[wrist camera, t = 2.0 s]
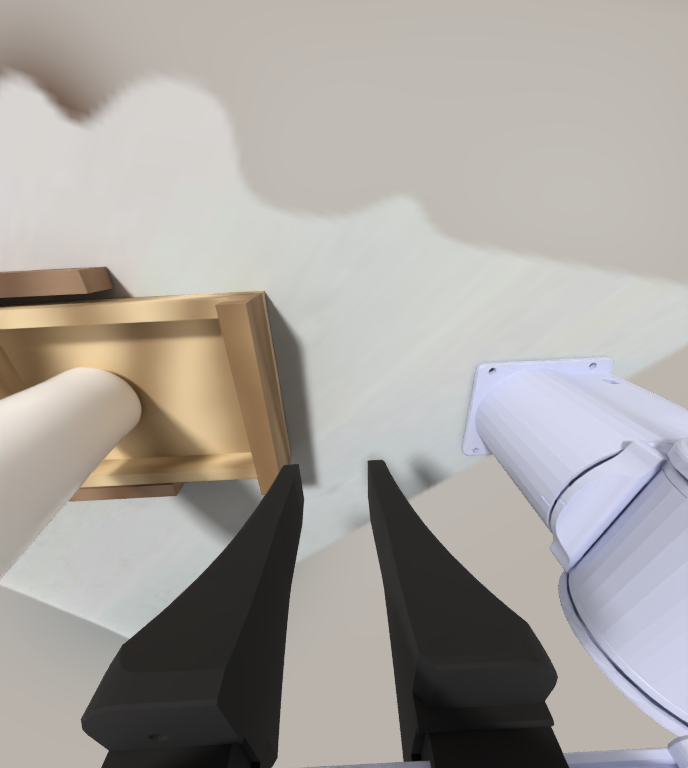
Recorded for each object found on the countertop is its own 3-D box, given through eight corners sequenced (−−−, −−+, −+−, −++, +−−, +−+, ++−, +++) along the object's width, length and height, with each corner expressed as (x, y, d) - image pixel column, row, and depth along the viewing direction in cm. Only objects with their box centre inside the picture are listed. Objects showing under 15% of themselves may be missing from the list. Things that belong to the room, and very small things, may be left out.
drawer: (264, 290, 17) (245, 303, 14) (291, 455, 23) (283, 493, 20) (-29, 305, 17) (-124, 322, 14) (72, 466, 23) (24, 507, 20)
